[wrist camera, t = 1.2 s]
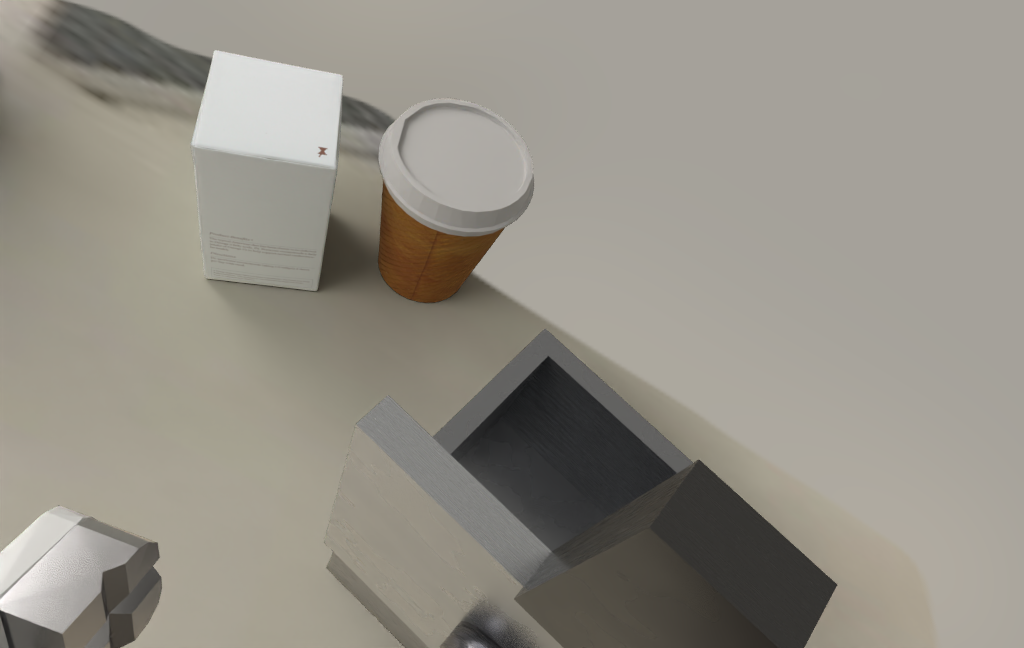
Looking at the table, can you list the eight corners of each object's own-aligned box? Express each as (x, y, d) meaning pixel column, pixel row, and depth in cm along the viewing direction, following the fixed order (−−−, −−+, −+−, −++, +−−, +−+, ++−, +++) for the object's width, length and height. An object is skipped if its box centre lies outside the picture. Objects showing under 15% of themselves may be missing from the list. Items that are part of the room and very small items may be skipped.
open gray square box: (326, 567, 42) (348, 519, 34) (494, 400, 50) (544, 328, 42) (524, 768, 40) (599, 768, 32) (664, 559, 48) (752, 517, 40)
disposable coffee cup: (414, 190, 57) (452, 70, 47) (511, 270, 56) (569, 163, 46) (325, 260, 51) (346, 140, 42) (430, 349, 50) (477, 248, 41)
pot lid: (344, 521, 33) (305, 559, 32) (445, 229, 14) (356, 299, 12) (598, 774, 31) (567, 824, 30) (1140, 858, 12) (1109, 1008, 11)
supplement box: (327, 207, 54) (349, 73, 43) (317, 295, 50) (339, 171, 40) (217, 189, 52) (213, 44, 41) (199, 279, 48) (189, 145, 38)
